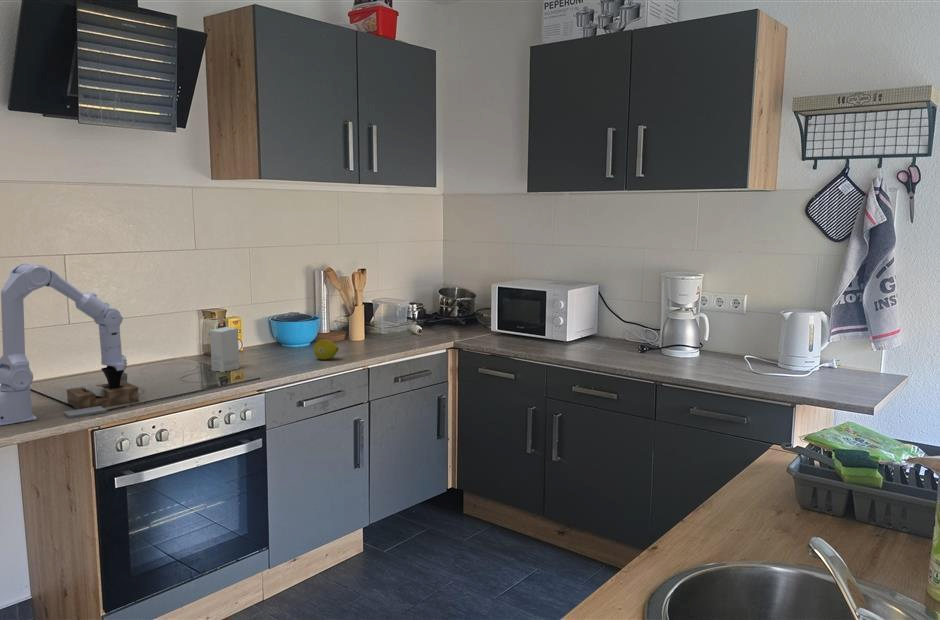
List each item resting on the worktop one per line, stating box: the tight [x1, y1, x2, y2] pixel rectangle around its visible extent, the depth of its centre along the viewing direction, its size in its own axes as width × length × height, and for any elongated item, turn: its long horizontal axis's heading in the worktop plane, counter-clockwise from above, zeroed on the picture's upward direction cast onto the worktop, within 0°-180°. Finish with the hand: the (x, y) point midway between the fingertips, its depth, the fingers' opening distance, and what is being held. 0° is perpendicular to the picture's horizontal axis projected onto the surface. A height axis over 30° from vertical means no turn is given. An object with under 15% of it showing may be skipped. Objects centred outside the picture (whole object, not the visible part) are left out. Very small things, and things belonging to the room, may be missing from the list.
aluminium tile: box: [86, 384, 109, 397], centre depth 229 cm, size 8×4×2 cm, turn 133°
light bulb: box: [120, 354, 128, 382], centre depth 244 cm, size 6×6×12 cm
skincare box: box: [209, 326, 240, 373], centre depth 276 cm, size 8×7×16 cm
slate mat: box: [62, 406, 108, 420], centre depth 217 cm, size 10×6×1 cm, turn 133°
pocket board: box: [66, 381, 140, 410], centre depth 229 cm, size 17×12×4 cm
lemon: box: [313, 339, 339, 361], centre depth 297 cm, size 11×8×8 cm
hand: (114, 389), depth 231 cm, fingers closed, pressing on aluminium tile
